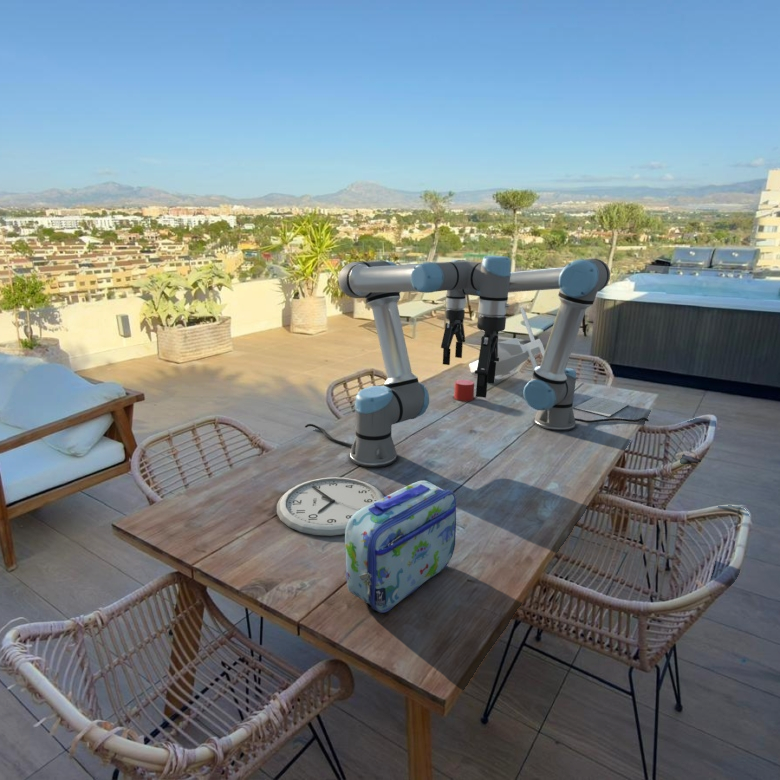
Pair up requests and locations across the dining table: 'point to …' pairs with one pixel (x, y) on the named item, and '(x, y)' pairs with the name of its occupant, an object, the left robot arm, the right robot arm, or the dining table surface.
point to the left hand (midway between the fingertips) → (485, 389)
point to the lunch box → (399, 543)
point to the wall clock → (325, 504)
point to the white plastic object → (514, 352)
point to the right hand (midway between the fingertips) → (452, 361)
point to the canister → (464, 390)
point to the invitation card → (601, 406)
